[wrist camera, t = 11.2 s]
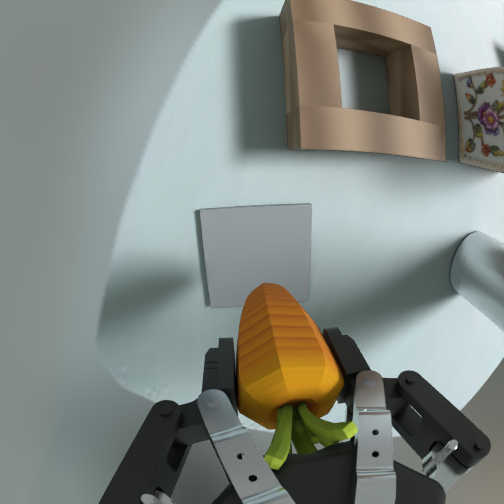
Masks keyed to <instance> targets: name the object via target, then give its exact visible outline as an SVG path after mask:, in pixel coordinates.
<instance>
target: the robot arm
mask: <svg viewBox="0 0 504 504" xmlns="http://www.w3.org/2000/svg"><path fill="white" fill-rule="evenodd" d="M450 280H451V285H452V287H453V289H454V290H455V291H456V292H458V293H459V294H460V295H461V296H463V297H464V298H465V299H466V300H468V301H469V302H470V303H471V304H472V305H473V306H475V307H476V308H477V309H478V310H479V311H481V312H482V313H483V314H484V315H485V316H486V317H488V318H489V319H490V320H491V321H492V322H493V323H494V324H496V325H497V326H498V327H499V328H500V329H501V330H502V331H503V332H504V244H503V243H502V242H500V241H498V240H496V239H494V238H492V237H490V236H488V235H486V234H484V233H481V232H474V233H471V234H470V235H468V236H467V237H466V238H465V239H464V240H463V242H462V243H461V245H460V246H459V248H458V250H457V252H456V254H455V256H454V259H453V262H452V266H451V272H450ZM323 337H324V338H325V340H326V342H327V344H328V345H329V347H330V349H331V351H332V353H333V355H334V357H335V359H336V361H337V363H338V365H339V367H340V370H341V372H342V375H343V377H344V386H343V388H342V390H341V392H340V394H339V396H338V398H337V401H338V404H340V403H346V406H347V407H346V410H345V422H350V421H352V422H353V423H355V424H356V425H357V429H358V431H357V433H356V434H355V435H354V436H352V437H351V438H349V439H346V440H343V442H342V443H338V444H333V445H330V446H327V447H325V448H323V449H321V450H319V451H316V452H314V453H311V454H289V453H288V456H287V459H286V461H285V462H284V463H283V464H282V465H281V467H280V468H279V469H278V470H276V469H272V468H270V467H269V465H268V464H267V462H266V461H265V460H264V456H265V455H264V456H262V454H261V452H260V451H259V449H258V447H257V445H256V444H255V442H254V440H253V438H252V437H251V435H250V433H249V432H248V430H247V428H246V427H243V426H242V424H241V422H240V420H239V418H238V408H237V401H236V361H235V352H234V342H233V338H219V348H210V349H209V350H208V352H207V353H206V354H205V364H204V373H203V384H202V392H201V394H200V395H199V396H198V398H197V399H196V400H194V401H192V402H190V403H186V404H182V405H178V404H177V403H176V402H174V401H170V400H163V401H160V402H158V403H156V404H155V405H154V406H153V407H152V409H151V410H150V412H149V414H148V416H147V417H146V419H145V421H144V423H143V424H142V426H141V428H140V430H139V432H138V433H137V435H136V437H135V439H134V441H133V442H132V444H131V446H130V448H129V449H128V451H127V453H126V455H125V457H124V458H123V460H122V462H121V464H120V466H119V467H118V469H117V471H116V473H115V475H114V476H113V478H112V480H111V482H110V484H109V485H108V487H107V489H106V491H105V493H104V495H103V496H102V498H101V500H100V502H99V504H176V503H175V502H174V501H173V500H172V499H170V498H171V495H172V493H173V490H174V488H175V485H176V483H177V480H178V478H179V476H180V473H181V471H182V468H183V466H184V464H185V461H186V458H187V456H188V454H189V451H190V449H191V446H192V444H194V443H198V442H201V441H205V440H209V439H210V442H211V444H212V446H213V449H214V451H215V453H216V456H217V458H218V460H219V462H220V465H221V467H222V469H223V472H224V474H225V476H226V478H227V480H228V482H229V485H228V486H227V487H226V488H225V489H224V490H223V492H222V493H221V494H220V495H219V496H218V497H217V498H216V499H215V500H214V502H212V503H211V504H445V501H446V495H445V492H446V491H447V490H449V488H451V487H452V486H453V485H454V484H455V483H456V482H457V481H458V480H459V479H460V478H461V477H462V476H463V475H464V474H466V473H467V472H468V471H469V470H470V469H472V468H473V467H474V466H475V465H476V464H477V463H478V462H480V461H481V460H482V459H483V458H484V457H485V456H486V455H487V454H488V453H489V451H490V448H491V443H490V440H489V439H488V437H487V436H486V435H485V434H484V433H483V432H482V431H481V430H479V429H478V428H477V427H476V426H475V425H474V424H473V423H472V422H471V421H470V420H469V419H468V418H466V416H464V415H463V414H462V413H461V412H460V411H459V410H458V409H457V408H456V407H455V406H454V405H453V404H451V403H450V402H449V401H448V400H447V399H446V398H445V397H444V396H443V395H442V394H440V393H439V392H438V391H437V390H436V389H435V388H434V387H433V386H432V385H431V384H429V383H428V382H427V381H426V380H425V379H424V378H423V377H422V376H421V375H419V374H418V373H417V372H414V371H404V372H402V373H401V374H400V375H399V376H398V378H382V376H381V375H380V374H379V373H377V372H375V371H372V370H371V369H370V367H369V366H368V364H367V362H366V360H365V359H364V357H363V355H362V353H360V350H359V348H357V345H356V343H355V341H354V340H353V339H352V338H350V337H349V336H348V335H343V336H342V334H341V332H340V331H339V329H338V328H337V327H336V328H329V329H324V330H323ZM411 406H412V407H413V408H414V409H415V410H416V411H417V412H418V413H419V414H420V415H421V417H422V418H421V417H420V416H419V415H418V414H417V412H416V411H415V410H414V409H413V408H412V407H411ZM392 426H393V427H394V428H395V430H396V431H397V432H398V433H399V434H400V435H401V436H402V437H403V439H405V441H406V442H407V443H408V444H409V445H410V446H411V447H412V449H413V450H414V451H415V452H416V453H417V454H418V455H419V456H420V458H421V459H422V460H423V461H422V468H423V469H422V472H423V473H424V474H426V476H425V475H423V474H421V473H419V472H417V471H415V470H413V469H411V468H408V467H406V466H404V465H402V464H400V463H398V462H396V461H395V460H393V439H392Z"/></svg>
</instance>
